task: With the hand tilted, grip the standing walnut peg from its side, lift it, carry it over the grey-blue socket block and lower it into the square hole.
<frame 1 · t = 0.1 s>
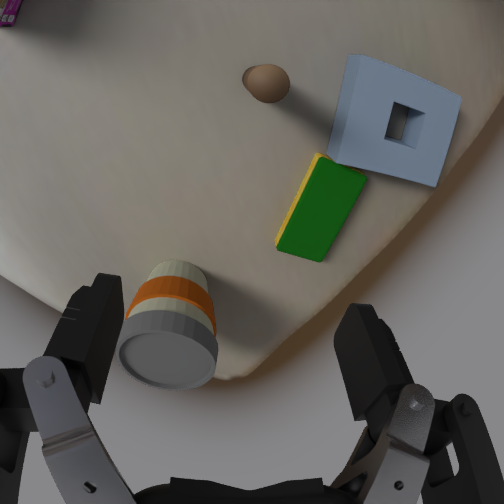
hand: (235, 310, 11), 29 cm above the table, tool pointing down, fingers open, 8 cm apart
walnut peg: (256, 79, 32), on the table
dish sponge: (316, 205, 42), on the table
reusable coffee cup: (178, 283, 47), on the table
hole block: (390, 119, 35), on the table
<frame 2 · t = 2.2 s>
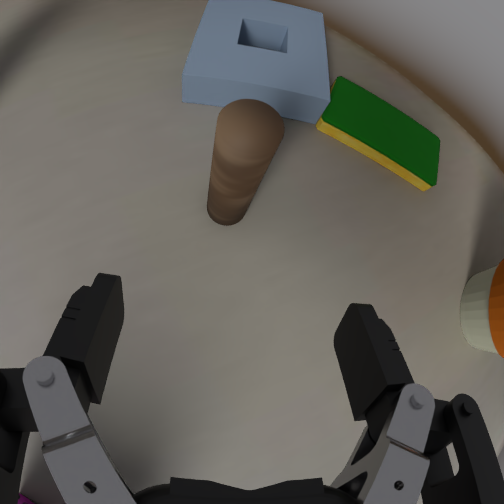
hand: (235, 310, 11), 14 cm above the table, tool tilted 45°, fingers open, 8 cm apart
walnut peg: (226, 206, 25), on the table
dish sponge: (377, 139, 31), on the table
reusable coffee cup: (481, 310, 29), on the table
hole block: (256, 60, 29), on the table
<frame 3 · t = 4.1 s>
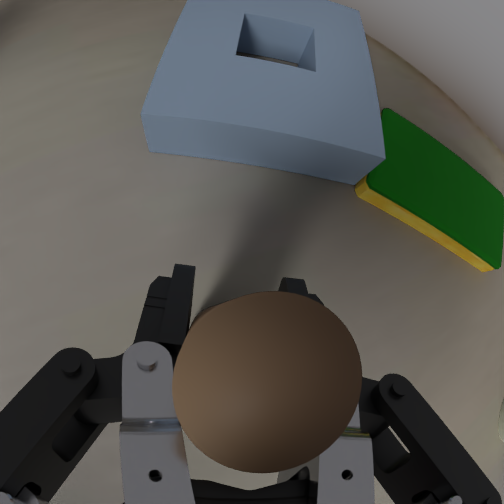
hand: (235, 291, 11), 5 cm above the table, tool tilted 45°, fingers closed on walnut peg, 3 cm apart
walnut peg: (219, 335, 16), on the table, touching gripper
dish sponge: (432, 200, 21), on the table
hole block: (265, 77, 20), on the table
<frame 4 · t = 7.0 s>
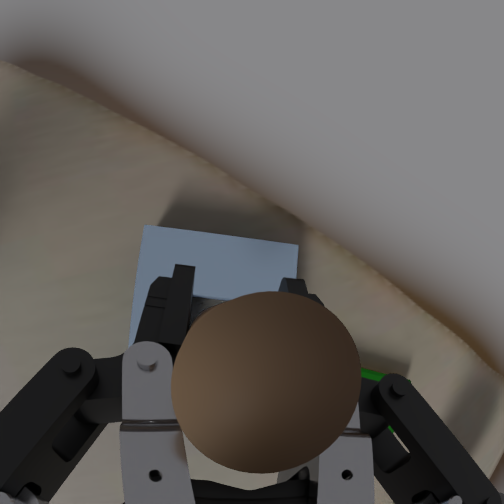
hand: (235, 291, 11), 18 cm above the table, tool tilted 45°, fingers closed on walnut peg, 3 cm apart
walnut peg: (219, 335, 16), point 12 cm above the table, touching gripper
hole block: (209, 324, 28), on the table
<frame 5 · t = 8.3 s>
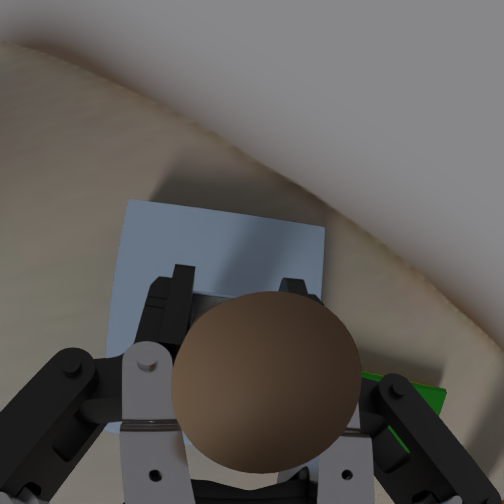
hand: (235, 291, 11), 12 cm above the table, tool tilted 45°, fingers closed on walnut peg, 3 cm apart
walnut peg: (219, 335, 16), point 6 cm above the table, touching gripper
dish sponge: (367, 412, 24), on the table
hole block: (211, 329, 22), on the table
when the fingers open (8 cm above the table, at t = 9.5 s): walnut peg drops 2 cm, resting in hole block.
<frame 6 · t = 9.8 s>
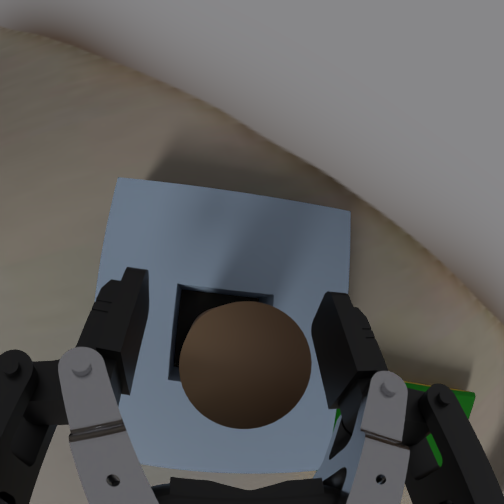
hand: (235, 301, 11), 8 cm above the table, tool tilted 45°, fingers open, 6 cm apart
walnut peg: (216, 334, 19), resting in hole block
dish sponge: (391, 422, 20), on the table
hole block: (216, 332, 19), on the table
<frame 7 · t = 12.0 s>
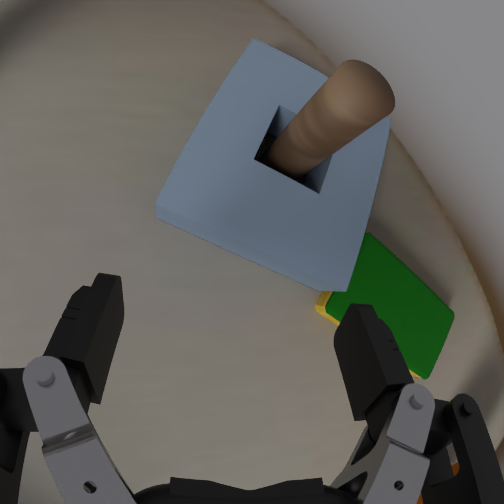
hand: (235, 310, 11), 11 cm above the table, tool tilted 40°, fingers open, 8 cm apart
walnut peg: (278, 168, 24), resting in hole block
dish sponge: (385, 312, 26), on the table
hole block: (278, 167, 24), on the table
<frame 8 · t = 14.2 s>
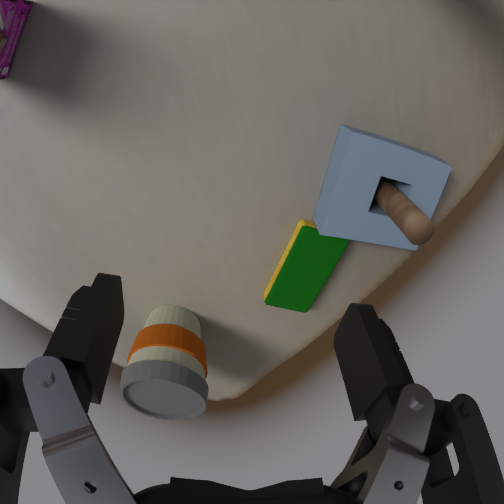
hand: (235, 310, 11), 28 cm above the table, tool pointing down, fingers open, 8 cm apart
walnut peg: (377, 185, 38), resting in hole block
dish sponge: (302, 263, 46), on the table
reusable coffee cup: (174, 323, 51), on the table
candy bar box: (10, 37, 23), on the table
hole block: (378, 185, 38), on the table
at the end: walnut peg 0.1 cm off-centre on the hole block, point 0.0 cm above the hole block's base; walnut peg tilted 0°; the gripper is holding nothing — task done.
